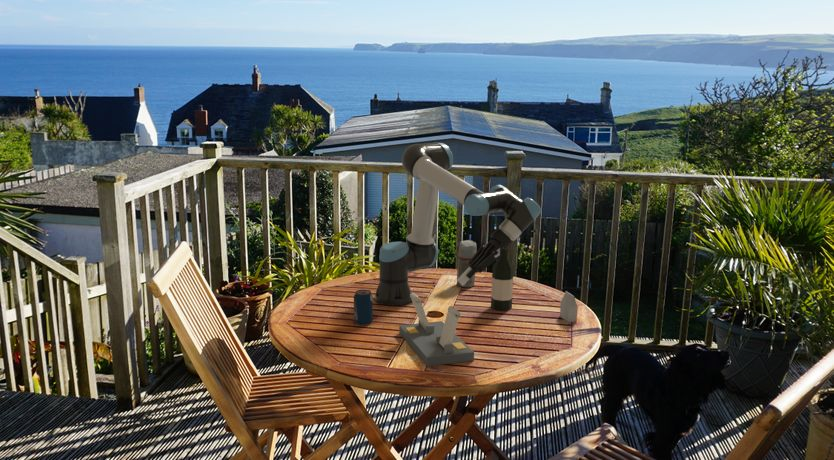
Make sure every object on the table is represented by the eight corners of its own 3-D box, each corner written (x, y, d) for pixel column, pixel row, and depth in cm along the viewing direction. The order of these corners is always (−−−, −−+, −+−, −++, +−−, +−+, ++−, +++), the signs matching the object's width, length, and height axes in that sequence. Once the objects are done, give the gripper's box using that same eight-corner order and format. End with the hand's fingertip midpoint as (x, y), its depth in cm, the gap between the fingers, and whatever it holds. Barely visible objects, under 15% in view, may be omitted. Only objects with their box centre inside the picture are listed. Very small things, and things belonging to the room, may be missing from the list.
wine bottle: (511, 304, 276) (514, 232, 269) (512, 311, 267) (515, 237, 261) (490, 303, 276) (493, 231, 270) (490, 310, 268) (494, 236, 262)
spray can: (477, 283, 303) (479, 240, 299) (472, 288, 296) (474, 244, 291) (459, 281, 306) (460, 238, 302) (454, 286, 298) (455, 242, 294)
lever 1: (425, 323, 241) (414, 291, 237) (431, 329, 236) (419, 296, 232) (420, 325, 241) (409, 294, 237) (426, 331, 235) (414, 299, 231)
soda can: (375, 321, 254) (376, 290, 251) (366, 327, 248) (366, 295, 245) (359, 318, 257) (359, 288, 254) (350, 324, 250) (350, 293, 248)
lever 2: (443, 343, 225) (454, 306, 223) (450, 350, 219) (461, 312, 218) (438, 342, 224) (448, 305, 222) (444, 349, 218) (455, 311, 217)
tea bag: (567, 322, 257) (569, 296, 254) (559, 316, 263) (561, 291, 261) (576, 321, 257) (578, 296, 255) (568, 315, 264) (570, 290, 262)
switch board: (441, 328, 247) (441, 314, 246) (473, 360, 219) (474, 344, 218) (399, 333, 242) (399, 318, 241) (427, 366, 214) (427, 349, 213)
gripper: (520, 246, 236) (473, 295, 235) (504, 237, 248) (459, 284, 247) (507, 232, 233) (459, 281, 232) (491, 223, 245) (446, 271, 244)
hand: (459, 282), depth 240 cm, fingers closed
